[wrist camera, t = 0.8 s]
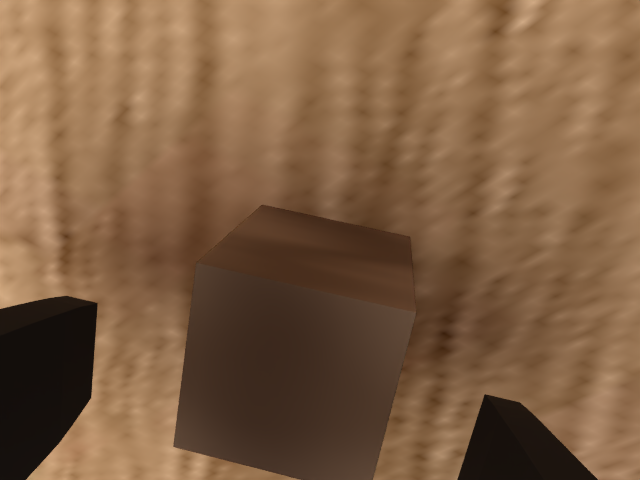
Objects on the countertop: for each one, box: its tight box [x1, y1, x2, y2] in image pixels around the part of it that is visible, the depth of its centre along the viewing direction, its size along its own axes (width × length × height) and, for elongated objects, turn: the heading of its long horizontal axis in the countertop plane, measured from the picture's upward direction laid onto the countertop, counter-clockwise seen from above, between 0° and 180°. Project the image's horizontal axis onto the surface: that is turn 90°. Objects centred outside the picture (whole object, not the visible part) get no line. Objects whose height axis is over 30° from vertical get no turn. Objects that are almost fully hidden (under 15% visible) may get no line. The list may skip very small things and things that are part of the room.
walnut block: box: [173, 205, 416, 480], centre depth 12 cm, size 4×4×5 cm
